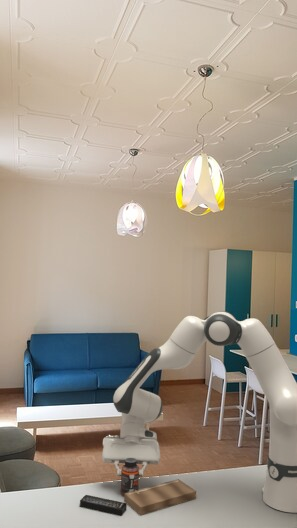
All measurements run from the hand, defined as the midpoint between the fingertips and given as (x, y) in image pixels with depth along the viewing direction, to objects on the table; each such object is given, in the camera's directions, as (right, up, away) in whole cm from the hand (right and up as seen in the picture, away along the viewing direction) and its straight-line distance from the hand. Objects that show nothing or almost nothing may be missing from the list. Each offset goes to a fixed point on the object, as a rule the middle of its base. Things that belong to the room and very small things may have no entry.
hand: (130, 475), depth 152 cm
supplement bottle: (0, -6, +1) cm, 6 cm away
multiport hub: (-8, -6, -9) cm, 14 cm away
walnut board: (+10, -7, -3) cm, 12 cm away
